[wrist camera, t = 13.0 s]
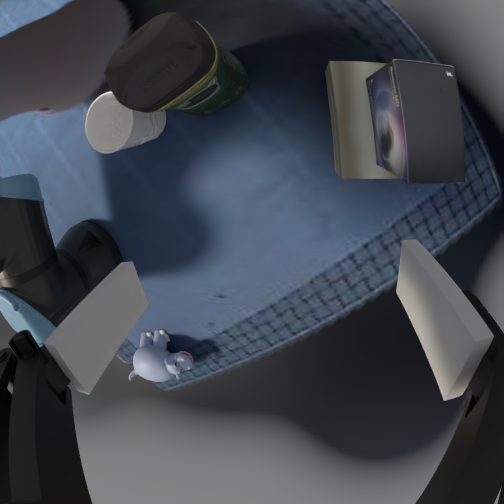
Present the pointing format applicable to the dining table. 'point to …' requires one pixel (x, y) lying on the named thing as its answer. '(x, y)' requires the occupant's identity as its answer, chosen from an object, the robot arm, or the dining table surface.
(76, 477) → the robot arm
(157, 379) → the hippopotamus toy
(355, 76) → the plinth
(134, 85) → the coffee jar
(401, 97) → the small box
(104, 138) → the white cup
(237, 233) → the dining table surface
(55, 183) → the dining table surface
